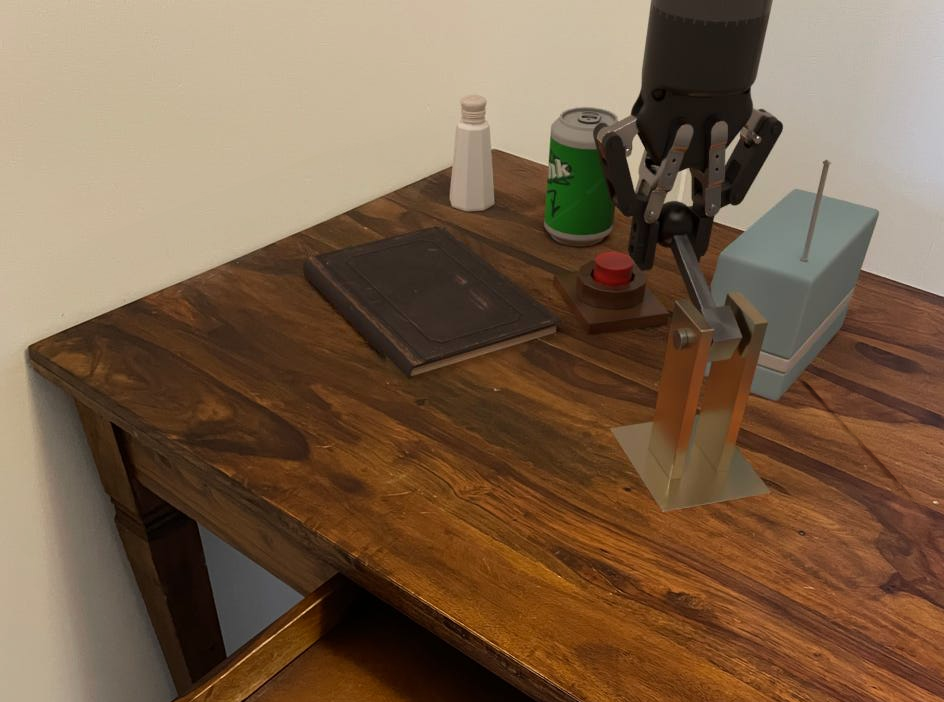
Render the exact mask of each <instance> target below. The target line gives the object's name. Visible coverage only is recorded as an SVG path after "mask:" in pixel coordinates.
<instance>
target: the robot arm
mask: <svg viewBox="0 0 944 702" xmlns="http://www.w3.org/2000/svg"><path fill="white" fill-rule="evenodd" d="M773 1H774V0H650V4H649V6H650V7H649V14H648V21H647V28H646V36H645V44H644V51H643V59H642V66H641V86H640V91H639V93H638V96H637V98H636V100H635V101H634V103H633V105H632V107H631V111H630V114H629V115H628V116H627V117H624V118H622V119H621V120H618V121H619V122H617V123H615V124H613V125H611V126H609V125H608V124H606V123H599V124H598V125H597V126H596V127H595V128H594V131H593V137H594V141H595V144H596V148H597V152H598V155H599V159H600V163H601V167H602V170H603V174H604V178H605V182H606V185H607V189H608V193H609V196H610V200H611V201H612V202H613V204H614V205H615V208H617V209H618V210H619V212H620V213H621V214H622V215H623V216H624V217H626V218H630V217H632V218H631V225H630V232H629V233H630V234H629V238H628V239H629V240H628V245H627V246H628V247H627V251H628V256H630V257H631V258H632V259H633V261H634V264H635V265H637V266H638V267H639V269H640V270H641V271H644V272H647V271H652V270H653V267H654V262H655V256H656V250H657V244H658V243H657V238H658V232H659V226H660V223H659V222H658V221H657V219H658V218H659V216H660V213H661V210H662V207H663V204H664V203H665V201H666V198H667V195H668V193H669V192H671V191H672V190H673V188H674V185H675V182H676V179H677V176H678V174H679V172H680V173H681V172H682V171H685V170H689V172H690V176H691V177H690V178H691V185H690V186H691V187H690V188H691V190H690V191H691V192H690V193H691V197H690V198H691V201H692V205H687V206H688V207H689V208H690V210H691V211H692V213H693V216H694V229H693V232H692V234H691V236H690V237H689V241H690V243H691V246H692V248H693V251H694V253H695V256H696V258H697V260H698V263H699V264H700V262H701V257H705V255H706V253H707V251H708V250H709V246H710V241H711V235H712V230H713V225H714V221H715V216H717V215H718V214H719V212H720V211H721V209H723V208H724V207H727V206H729V205H731V206H738V205H741V203H742V202H743V201H744V200H745V198H746V196H747V194H748V193H749V191H750V189H751V187H752V185H753V184H754V182H755V180H756V178H757V176H758V175H759V173H760V171H761V170H762V168H763V166H764V164H765V162H766V161H767V159H768V158H769V155H770V154H771V152H772V150H773V148H774V147H775V146H776V143H777V142H778V140H779V138H780V136H781V134H782V133H783V130H784V124H783V122H782V121H781V120H779V119H778V118H777V117H776V116H775V115H773V114H772V113H770V112H769V111H768V110H766V109H764V108H759V109H756V108H755V107H754V103H753V102H754V101H753V98H752V86H753V85H754V84H755V82H756V80H757V77H758V71H759V67H760V63H761V58H762V53H763V48H764V44H765V39H766V34H767V30H768V26H769V21H770V16H771V12H772V11H771V10H772V6H773ZM738 134H739V139H738V140H737V142H736V145H735V146H734V149H733V150H732V152H731V154H730V155H729V157H728V159H727V161H726V153H727V152H726V150H727V149H728V148H729V146H730V145H731V144H732V142H733V141H734V140H735V139H736V137H737V136H738ZM636 135H637V137H638V138H639V140H640V142H641V144H642V146H643V148H644V150H643V152H642V156H641V159H640V163H639V166H638V180H637V183H636V187H634V183H633V178H632V174H631V171H630V167H629V163H628V159H627V158H628V157H630V156H631V155H632V151H633V141H634V138H635V137H636Z"/></svg>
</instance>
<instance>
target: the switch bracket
mask: <svg viewBox="0 0 944 702" xmlns="http://www.w3.org/2000/svg"><path fill="white" fill-rule="evenodd" d="M724 306H730V308H731V310H732V313H733V315H734V317H735V320H736V322H737V325H738V327H739V330H740V332H741V335H742V339H741V341H740V343H739V344H738V346H737V348H736V350H735V351H734V353H733V355H732V356H731V358H730V359H726V360H719V361H712V362H711V366H710V371H709V375H708V377H707V379H706V385H705V389H704V394H703V397H702V402H701V406H700V411H699V413H698V414H697V410H698V405H699V401H700V397H701V393H702V387H703V382H704V378H705V376H704V374H705V370H706V365H707V361H708V356H709V352H710V347H711V343H712V338H713V334H714V328H713V327H712V326H711V325H710V324H709V323H708V321H707V320H706V319H705V318H704V317H703V316H702V315H701V313H700V312H699V311H698V310H697V309H696V308H695V306H694V305H693V304H692V301H691V300H690V299H688V298H683V299H675V301H674V306H673V312H672V316H671V322H670V328H669V334H668V338H667V344H666V349H665V355H664V360H663V364H662V365H663V366H662V370H661V377H660V382H659V386H658V387H659V388H658V392H657V397H656V402H655V403H656V404H655V408H654V414H653V419H652V421H647V422H641V423H634V424H633V423H632V424H628V425H627V424H626V425H622V426H614V427H610V428H609V431H610V432H611V434H612V436H613V437H614V439H615V441H616V442H617V444H618V446H619V447H620V449H621V450H622V452H623V453H624V455H625V457H626V458H627V459H628V461H629V462H630V464H631V466H633V469H634V470H635V472H636V473H637V475H638V476H639V478H640V480H641V482H642V484H644V486H645V488H646V489H647V490H648V492H649V494H650V495H651V497H652V498H653V500H654V502H655V503H656V505H657V506H658V508H659V509H660V511H661V512H662V513H668V512H669V513H670V512H675V511H681V510H687V509H691V508H698V507H704V506H708V505H709V506H710V505H714V504H720V503H726V502H731V501H736V500H742V499H743V500H744V499H749V498H754V497H760V496H767V495H771V494H772V491H771V489H769V487H768V486H767V484H765V482H764V481H763V479H762V478H761V476H759V474H758V473H757V472H756V470H755V469H754V468H753V466H752V465H751V464H750V462H749V461H748V459H746V457H745V456H744V455H743V453H741V451H740V450H739V449H738V447H737V446H736V445H737V440H738V438H739V437H738V436H739V433H740V430H741V426H742V422H743V418H744V414H745V411H746V408H747V407H746V406H747V403H748V399H749V396H750V393H751V392H750V389H751V385H752V381H753V377H754V374H755V370H756V366H757V362H758V359H759V355H760V351H761V348H762V344H763V340H764V336H765V333H766V329H767V325H768V321H767V320H766V319H765V318H764V317H763V316H762V315H761V314H760V313H759V312H758V311H757V310H756V308H755V307H754V306H753V305H752V304H751V303H750V302H749V301H748V300H747V299H746V298H745V297H744V296H743V295H742V294H741V293H740V292H733V293H727V296H726V300H725V305H724Z"/></svg>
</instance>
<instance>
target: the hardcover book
mask: <svg viewBox="0 0 944 702" xmlns="http://www.w3.org/2000/svg"><path fill="white" fill-rule="evenodd" d="M302 265H303V266H302V268H303V269H302V270H303V275H304V277H305V278H306V279H307V280H308V281H309V282H310V283H311V284H312V285H313V286H314V287H315V288H316V289H317V290H318V291H319V293H321V294H322V295H323V297H325V299H326V300H327V301H329V303H330V304H331V305H332V306H333V307H334V308H335V309H336V310H337V311H338V312H339V314H341V315H342V316H343V317H344V318H345V319H346V320H347V322H349V323H350V325H352V327H354V328H355V330H356V331H358V333H359V334H361V336H362V337H363V338H364V339H365V340H366V341H367V342H368V343H369V344H370V346H372V348H374V349H375V350H376V351H377V352H378V353H379V354H380V356H382V357H383V358H384V359H385V360H386V361H387V360H388V359H389V360H390V361H391V362H392V363H393V364H394V365H395V366H396V367H397V368H398V370H399V371H400V372H402V374H403V375H404V376H405V377H406V378H407V379H409V380H412V377H413V376H418V375H421V374H423V373H427V372H430V371H434V370H436V369H440V368H444V367H447V366H451V365H453V364H456V363H460V362H463V361H466V360H469V359H472V358H476V357H479V356H483V355H486V354H489V353H492V352H496V351H499V350H502V349H506V348H509V347H512V346H516V345H519V344H522V343H526V342H529V341H532V340H536V339H539V338H542V337H547V336H548V335H552V334H555V333H557V326H560V325H563V320H561V318H560V317H558V316H556V314H554V313H553V312H552V311H550V310H549V309H547V307H545V306H544V305H543V304H542V303H540V302H539V301H538V300H536V299H535V298H534V297H532V296H531V295H530V294H529V293H527V291H525V290H524V289H522V288H521V287H520V286H519V285H517V284H516V283H515V282H513V281H512V280H511V279H510V278H509V277H508V276H506V275H505V274H503V273H502V272H500V271H499V270H498V269H497V268H496V267H494V266H493V265H492V264H491V263H489V262H488V261H487V260H485V259H484V258H483V257H482V256H480V255H479V254H478V253H477V252H475V251H474V250H473V249H472V248H470V247H469V246H468V245H467V244H465V243H464V242H462V241H461V240H460V239H459V238H458V237H456V236H455V235H454V234H453V233H451V232H450V231H449V230H447V229H446V228H445V227H444V226H443V225H442V224H438V225H434V226H431V227H427V228H423V229H418V230H414V231H410V232H406V233H402V234H397V235H393V236H389V237H385V238H381V239H376V240H373V241H369V242H365V243H364V242H363V243H361V244H356V245H352V246H348V247H344V248H339V249H336V250H332V251H327V252H323V253H319V254H315V255H310V256H308V257H306V258H305V259H304V261H303V263H302ZM387 358H388V359H387Z"/></svg>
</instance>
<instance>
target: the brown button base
mask: <svg viewBox="0 0 944 702" xmlns="http://www.w3.org/2000/svg"><path fill="white" fill-rule="evenodd" d="M594 265H595V259H594V260H590V261H588V262H586V263H585V264H583V265H581V266H579V269H578V270H574V271H567V272H558V273H554V274H553V282H552V283H553V284H552V285H553V287H554V288H555V289H556V291H557V293H558V294H559V296H561V298H562V300H563V301H564V302H565V304H566V305H567V307H568V308H569V310H570V312H572V314H573V315H574V317H575V318H576V320H577V322H578V323H579V324H580V326H581V327H582V329H583V330H584V331H585V333H586V335H588V336H590V335H598V334H604V333H612V332H619V331H626V330H627V331H628V330H634V329H641V328H650V327H656V326H663V325H668V324H669V323H668V322H669V319H670V318H669V317H670V312H669V311H668V309H666V307H665V306H664V305H663V303H662V302H661V301H660V300H659V298H657V296H656V295H655V294H654V292H653V291H652V290H651V289H650V287H648V285H647V284H648V278H649V276H648V273H646V271H641V270H640V269H639V267H638V266H637V265H636V264H635V263H634V264H633V270H632V277H631V281H630V283H628V284H626V285H620V286H611V285H603V284H601V283H599V282H597V281H595V280H594V278H593V274H594Z"/></svg>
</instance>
